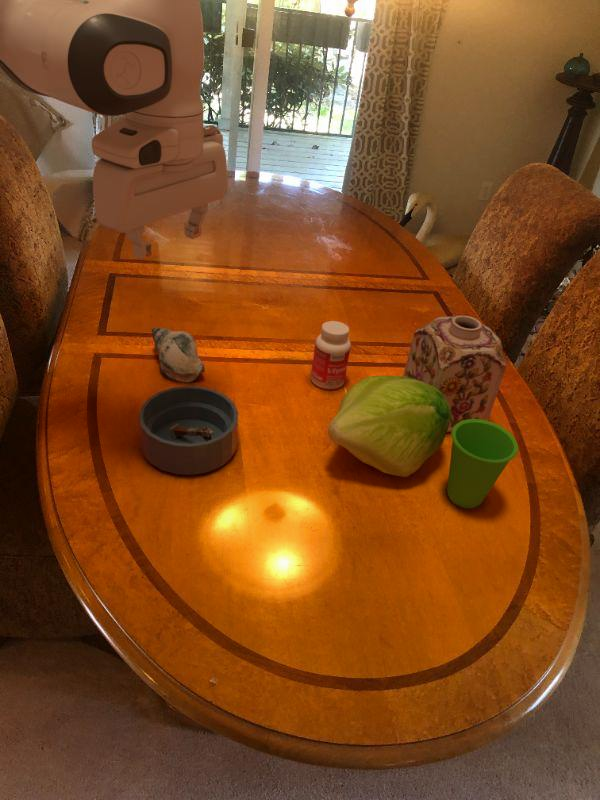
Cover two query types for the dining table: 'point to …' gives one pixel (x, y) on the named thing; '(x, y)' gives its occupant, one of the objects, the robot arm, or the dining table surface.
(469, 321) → the decorative jar
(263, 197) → the dining table surface
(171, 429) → the brown buckled strap
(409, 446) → the lettuce
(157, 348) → the seashell
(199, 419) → the basin
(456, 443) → the cup
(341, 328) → the pill bottle
